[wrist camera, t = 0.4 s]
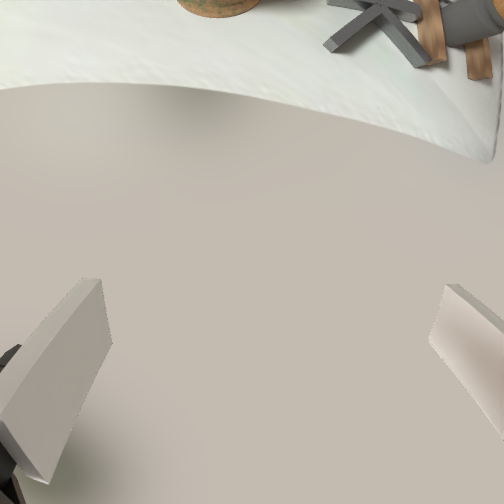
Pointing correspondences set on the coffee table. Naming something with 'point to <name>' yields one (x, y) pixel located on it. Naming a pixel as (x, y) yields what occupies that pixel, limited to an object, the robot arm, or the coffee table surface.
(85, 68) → the coffee table surface
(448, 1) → the grey stepped block
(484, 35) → the bottle
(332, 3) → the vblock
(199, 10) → the mug
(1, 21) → the coffee table surface
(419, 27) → the parallel wooden rails
